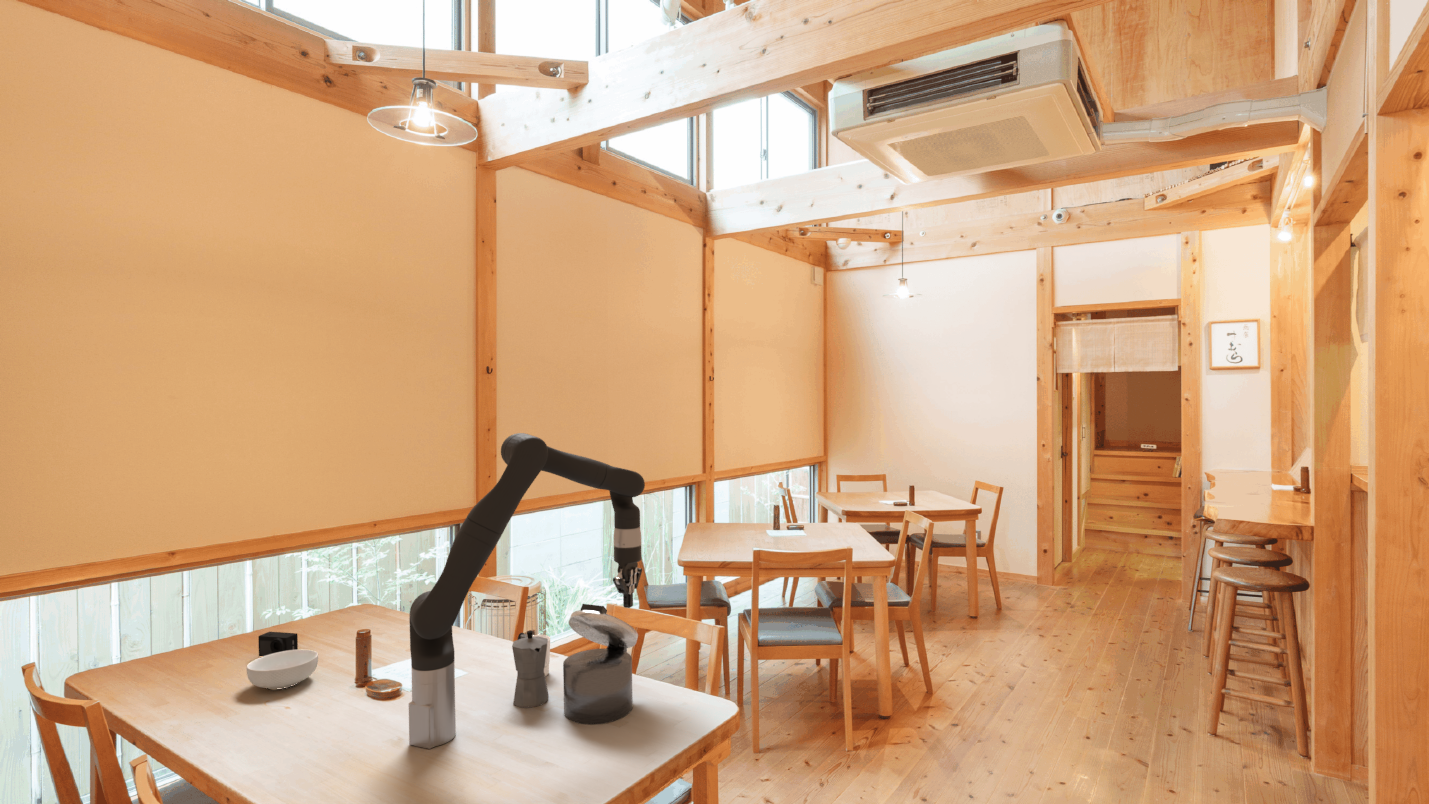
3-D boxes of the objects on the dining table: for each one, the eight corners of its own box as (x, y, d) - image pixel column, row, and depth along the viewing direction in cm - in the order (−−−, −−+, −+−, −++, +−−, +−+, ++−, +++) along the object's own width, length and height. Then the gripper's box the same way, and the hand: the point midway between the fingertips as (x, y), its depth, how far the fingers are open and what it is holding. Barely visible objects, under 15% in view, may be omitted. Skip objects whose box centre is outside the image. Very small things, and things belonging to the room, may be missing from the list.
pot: (611, 729, 162) (610, 678, 162) (550, 717, 168) (549, 668, 168) (647, 696, 179) (647, 650, 179) (591, 687, 186) (590, 642, 186)
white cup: (546, 680, 191) (546, 644, 191) (518, 680, 191) (517, 644, 191) (553, 669, 199) (553, 634, 199) (526, 669, 199) (526, 634, 199)
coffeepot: (557, 704, 175) (556, 634, 175) (521, 714, 170) (520, 641, 170) (537, 684, 188) (536, 618, 188) (502, 692, 183) (501, 625, 183)
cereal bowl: (331, 673, 198) (331, 648, 198) (290, 698, 182) (290, 671, 182) (277, 671, 200) (276, 647, 200) (231, 696, 183) (230, 670, 183)
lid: (620, 620, 165) (624, 607, 167) (556, 612, 172) (561, 601, 174) (647, 653, 178) (650, 641, 180) (587, 645, 185) (591, 633, 187)
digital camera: (254, 659, 210) (254, 636, 210) (269, 653, 215) (269, 631, 215) (283, 662, 208) (282, 639, 208) (297, 655, 213) (297, 633, 213)
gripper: (628, 549, 181) (628, 615, 181) (650, 539, 193) (651, 601, 193) (603, 547, 183) (603, 612, 183) (626, 538, 196) (627, 599, 196)
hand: (628, 606), depth 188 cm, fingers closed
